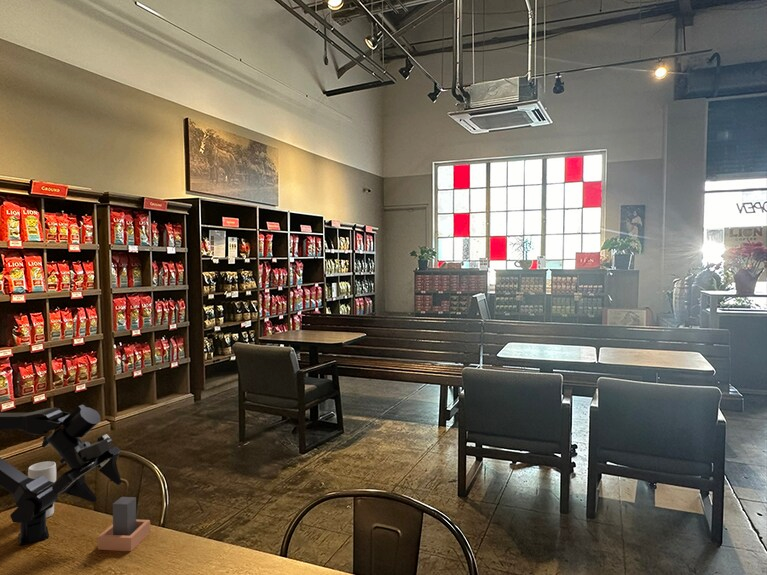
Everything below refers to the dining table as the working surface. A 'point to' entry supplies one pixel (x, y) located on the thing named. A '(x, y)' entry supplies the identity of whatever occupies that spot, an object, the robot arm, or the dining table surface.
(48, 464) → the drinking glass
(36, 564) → the dining table surface
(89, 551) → the dining table surface
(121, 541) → the socket
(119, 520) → the plug
